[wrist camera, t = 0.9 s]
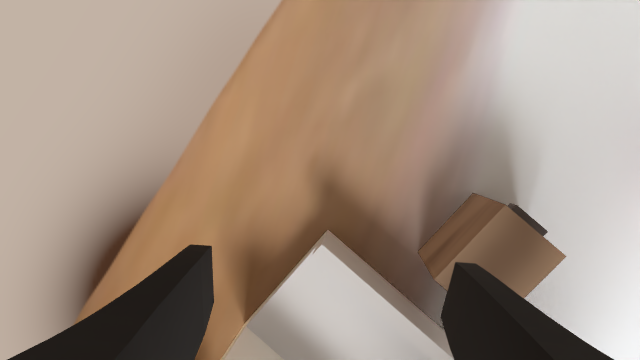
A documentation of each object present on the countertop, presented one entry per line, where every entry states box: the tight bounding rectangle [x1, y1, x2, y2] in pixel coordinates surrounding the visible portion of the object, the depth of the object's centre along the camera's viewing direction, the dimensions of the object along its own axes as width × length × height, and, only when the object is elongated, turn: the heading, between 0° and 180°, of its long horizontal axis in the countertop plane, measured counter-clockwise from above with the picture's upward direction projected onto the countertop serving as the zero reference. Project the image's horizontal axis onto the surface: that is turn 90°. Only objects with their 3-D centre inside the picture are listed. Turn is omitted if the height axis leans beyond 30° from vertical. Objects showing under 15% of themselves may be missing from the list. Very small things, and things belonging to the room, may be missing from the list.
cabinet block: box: [418, 193, 566, 298], centre depth 24 cm, size 4×7×6 cm
